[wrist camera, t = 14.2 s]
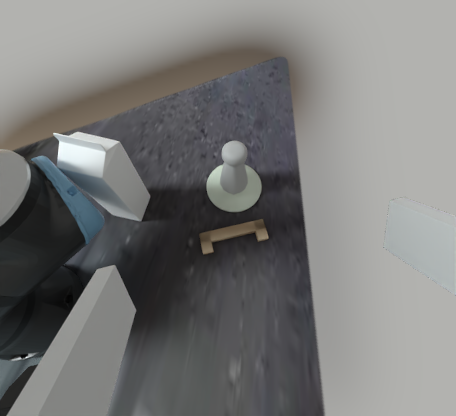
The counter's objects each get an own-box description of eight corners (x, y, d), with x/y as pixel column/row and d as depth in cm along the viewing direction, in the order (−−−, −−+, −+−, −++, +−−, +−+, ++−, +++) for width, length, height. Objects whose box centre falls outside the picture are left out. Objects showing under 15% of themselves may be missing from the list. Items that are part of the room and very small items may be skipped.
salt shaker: (249, 177, 49) (255, 137, 37) (244, 200, 47) (249, 166, 35) (223, 172, 49) (221, 132, 37) (217, 195, 47) (213, 160, 35)
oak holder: (267, 239, 44) (268, 237, 43) (203, 254, 43) (202, 253, 42) (261, 221, 46) (262, 218, 44) (199, 235, 45) (198, 233, 43)
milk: (124, 190, 48) (63, 112, 27) (151, 196, 48) (111, 123, 28) (112, 216, 46) (38, 152, 25) (141, 222, 46) (90, 164, 25)
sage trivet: (196, 195, 48) (195, 194, 47) (225, 155, 52) (225, 154, 51) (243, 222, 45) (244, 221, 45) (270, 179, 49) (271, 177, 49)
